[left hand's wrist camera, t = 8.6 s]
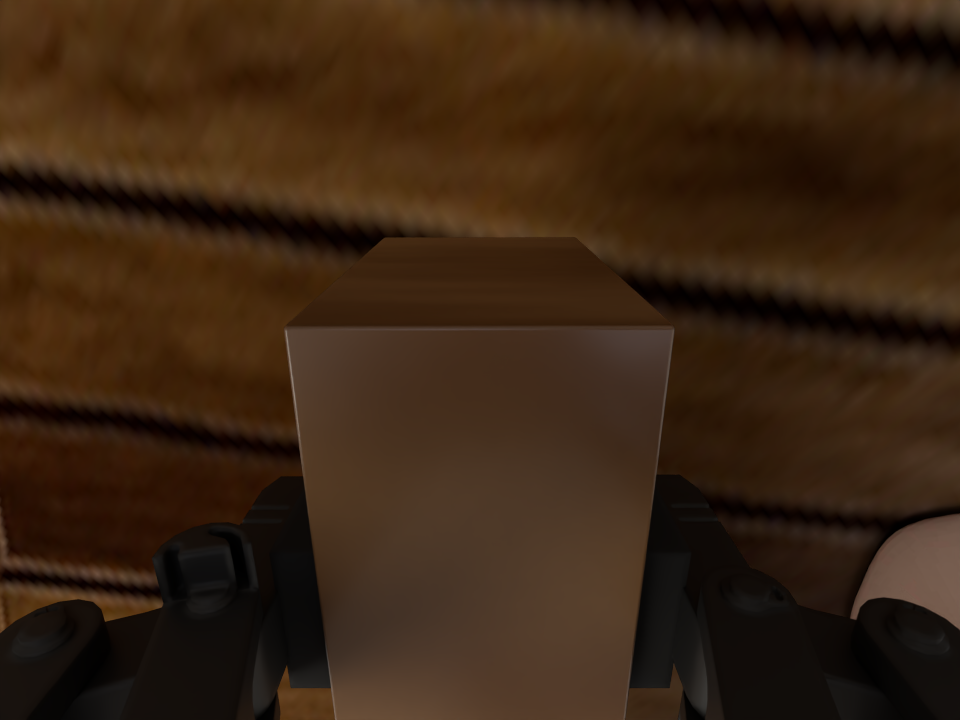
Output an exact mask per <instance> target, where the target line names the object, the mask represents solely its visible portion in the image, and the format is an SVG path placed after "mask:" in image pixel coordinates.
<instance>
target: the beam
mask: <svg viewBox="0 0 960 720" xmlns="http://www.w3.org/2000/svg"><path fill="white" fill-rule="evenodd" d="M674 330H675V328H674V326H673V325H672V324H671V323H670V322H669V321H668V320H667V319H666V318H665V317H663V316H662V315H661V314H660V313H659V312H658V311H657V310H656V309H655V308H653V307H652V306H651V305H650V304H649V303H648V302H647V301H646V300H644V299H643V298H642V297H641V296H640V295H639V294H638V293H637V292H636V291H634V290H633V289H632V288H631V287H630V286H629V285H628V284H627V283H626V282H624V281H623V280H622V279H621V278H620V277H619V276H618V275H617V274H616V273H614V272H613V271H612V270H611V269H610V268H609V267H608V266H607V265H606V264H604V263H603V262H602V261H601V260H600V259H599V258H598V257H597V256H596V255H594V254H593V253H592V252H591V251H590V250H589V249H588V248H587V247H586V246H584V245H583V244H582V243H581V242H580V241H579V240H578V239H577V238H575V237H525V238H384V239H383V240H382V241H380V242H379V243H378V244H377V245H376V246H375V247H374V248H373V249H371V250H370V251H369V252H368V253H367V254H366V255H365V256H364V257H362V258H361V259H360V260H359V261H358V262H357V263H356V264H355V265H353V266H352V267H351V268H350V269H349V270H348V271H347V272H346V273H344V274H343V275H342V276H341V277H340V278H339V279H338V280H336V281H335V282H334V283H333V284H332V285H331V286H330V287H329V288H327V289H326V290H325V291H324V292H323V293H322V294H321V295H320V296H318V297H317V298H316V299H315V300H314V301H313V302H312V303H311V304H309V305H308V306H307V307H306V308H305V309H304V310H303V311H302V312H300V313H299V314H298V315H297V316H296V317H295V318H294V319H293V320H291V321H290V322H289V323H288V324H287V325H286V326H285V327H284V335H285V342H286V350H287V357H288V365H289V372H290V380H291V388H292V395H293V403H294V410H295V418H296V426H297V433H298V441H299V448H300V456H301V463H302V471H303V479H304V486H305V494H306V501H307V509H308V517H309V524H310V532H311V539H312V547H313V554H314V562H315V570H316V577H317V585H318V592H319V600H320V608H321V615H322V623H323V630H324V638H325V645H326V653H327V661H328V668H329V676H330V683H331V691H332V699H333V706H334V714H335V720H625V718H626V710H627V702H628V694H629V686H630V678H631V670H632V662H633V655H634V647H635V639H636V631H637V623H638V615H639V607H640V599H641V591H642V583H643V575H644V568H645V560H646V552H647V544H648V536H649V528H650V520H651V512H652V504H653V496H654V488H655V480H656V473H657V465H658V457H659V449H660V441H661V433H662V425H663V417H664V409H665V401H666V393H667V386H668V378H669V370H670V362H671V354H672V346H673V338H674Z"/></svg>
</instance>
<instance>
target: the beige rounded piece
mask: <svg viewBox="0 0 960 720" xmlns="http://www.w3.org/2000/svg"><path fill="white" fill-rule="evenodd" d="M881 597H886V598H894V599H901V600H905V601H908V602H911V603H914V604H917V605H920V606H923V607H925V608H927V609H929V610H931V611H933V612H934V613H936V614H938V615H940V616H942V617H944V618H946V619H947V620H948V621H949V622H951V623H952V624H953V625H954V626H956V627H957V628H958V629H959V630H960V514H951V515H946V516H940V517H935V518H930V519H925V520H922V521H919V522H916V523H913V524H910V525H907V526H905V527H903V528H902V529H900V530H898V531H896V532H895V533H894V534H893V535H891V536H890V537H889V538H888V539H887V540H886V541H885V542H884V544H883V545H882V546H881V547H880V549H879V550H878V551H877V553H876V555H875V557H874V559H873V560H872V562H871V564H870V566H869V568H868V570H867V572H866V575H865V577H864V579H863V582H862V584H861V586H860V589H859V591H858V593H857V596H856V598H855V601H854V605H853V608H852V612H851V616H850V618H851V619H855V620H856V619H857V615H858V612H859V609H860V607H861V606H862V605H863V604H864V603H865V602H866V601H867V600H869V599H875V598H881Z"/></svg>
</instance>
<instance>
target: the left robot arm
mask: <svg viewBox="0 0 960 720" xmlns="http://www.w3.org/2000/svg"><path fill="white" fill-rule="evenodd" d="M152 560H153V564H154V568H155V572H156V576H157V580H158V584H159V588H160V591H161V595H162V599H163V603H164V604H163V606H162V608H159V609H155V610H152V611H149V612H145V613H141V614H137V615H132V616H128V617H124V618H120V619H115V620H111V621H107V622H105V620H104V617H103V614H102V610H101V609H100V608H99V607H98V606H97V605H96V604H95V603H94V602H90V601H85V600H79V599H77V600H70V601H62V602H57V603H54V604H51V605H48V606H45V607H42V608H40V609H37V610H35V611H33V612H31V613H29V614H28V615H26V616H24V617H22V618H20V619H18V620H16V621H15V622H14V623H12V624H11V625H10V626H9V627H7V628H6V629H5V630H4V631H2V632H1V633H0V720H280V706H279V699H278V693H277V689H278V687H279V684H280V681H281V679H282V676H283V673H284V671H285V668H286V665H287V667H288V673H289V679H290V686H291V688H331V683H330V676H329V668H328V661H327V653H326V645H325V638H324V630H323V623H322V615H321V608H320V600H319V592H318V585H317V577H316V570H315V562H314V554H313V547H312V539H311V532H310V524H309V517H308V509H307V501H306V494H305V486H304V479H303V476H281V477H280V478H278V479H277V480H276V481H274V482H273V483H272V484H270V485H269V486H268V487H266V488H265V489H264V490H262V492H261V493H260V495H259V496H258V498H257V499H256V501H255V502H254V504H253V506H252V510H249V512H248V513H247V515H246V516H245V518H244V519H243V524H240V525H236V524H232V523H229V522H227V523H209V524H205V525H201V526H197V527H193V528H191V529H188V530H186V531H184V532H182V533H180V534H177V535H175V536H174V537H173V538H171V539H170V540H168V541H167V542H166V543H164V544H163V545H162V546H161V547H160V548H159V549H158V551H157V552H156V553H155V555H154V556H153V557H152ZM673 663H674V664H675V667H676V670H677V672H678V675H679V677H680V680H681V683H682V685H683V693H682V699H681V704H680V710H679V716H678V720H960V630H959V629H958V628H957V627H956V626H954V625H953V624H952V623H951V622H949V621H948V620H947V619H946V618H944V617H942V616H940V615H938V614H936V613H934V612H933V611H931V610H929V609H927V608H925V607H923V606H920V605H917V604H914V603H911V602H908V601H905V600H901V599H894V598H886V597H881V598H875V599H869V600H867V601H866V602H865V603H864V604H863V605H862V606H861V607H860V609H859V612H858V615H857V619H856V620H855V619H851V618H846V617H842V616H838V615H834V614H829V613H825V612H821V611H816V610H813V609H809V608H806V607H803V606H800V605H797V603H796V601H795V600H794V598H793V597H792V595H791V594H790V592H789V591H788V590H787V589H786V588H785V587H784V586H783V585H781V584H780V583H779V582H778V581H777V580H775V579H774V578H772V577H770V576H768V575H766V574H764V573H762V572H760V571H758V570H755V569H752V568H750V567H749V565H748V564H747V562H746V561H745V559H744V558H743V556H742V555H741V553H740V552H739V550H738V549H737V547H736V545H735V544H734V542H733V541H732V539H731V538H730V536H729V535H728V533H727V532H726V530H725V529H724V527H723V526H722V524H721V522H718V518H717V516H716V515H715V513H714V512H713V510H712V509H711V508H709V504H708V503H707V501H706V500H705V498H704V496H703V495H702V493H701V492H700V490H699V489H698V488H697V487H695V486H694V485H693V484H691V483H690V482H689V481H687V480H686V479H685V478H683V477H682V476H680V475H656V480H655V488H654V496H653V504H652V512H651V520H650V528H649V536H648V544H647V552H646V560H645V568H644V575H643V583H642V591H641V599H640V607H639V615H638V623H637V631H636V639H635V647H634V655H633V662H632V670H631V678H630V686H629V688H670V682H671V676H672V670H673Z"/></svg>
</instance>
